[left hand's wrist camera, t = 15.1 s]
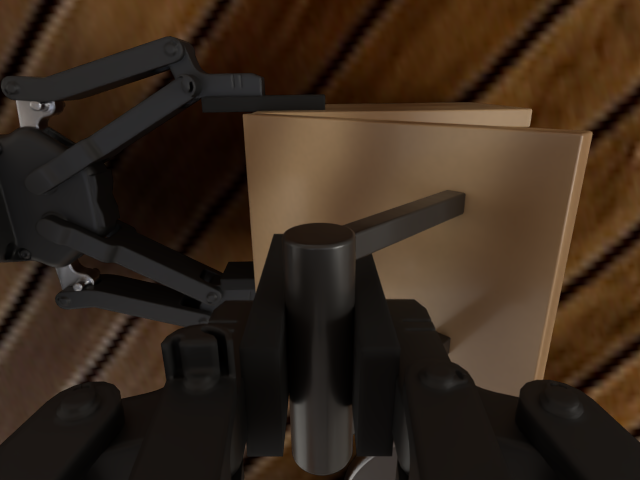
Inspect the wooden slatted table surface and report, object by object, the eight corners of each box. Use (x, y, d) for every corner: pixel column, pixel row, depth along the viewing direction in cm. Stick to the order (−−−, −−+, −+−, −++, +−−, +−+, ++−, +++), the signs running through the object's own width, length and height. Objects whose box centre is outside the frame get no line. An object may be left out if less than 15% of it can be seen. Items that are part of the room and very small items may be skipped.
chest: (470, 102, 30) (533, 108, 21) (457, 234, 33) (506, 286, 24) (270, 105, 29) (251, 112, 21) (276, 237, 33) (262, 290, 24)
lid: (593, 130, 11) (436, 175, 6) (534, 425, 14) (401, 618, 9) (257, 112, 21) (86, 124, 16) (268, 291, 24) (131, 349, 19)
